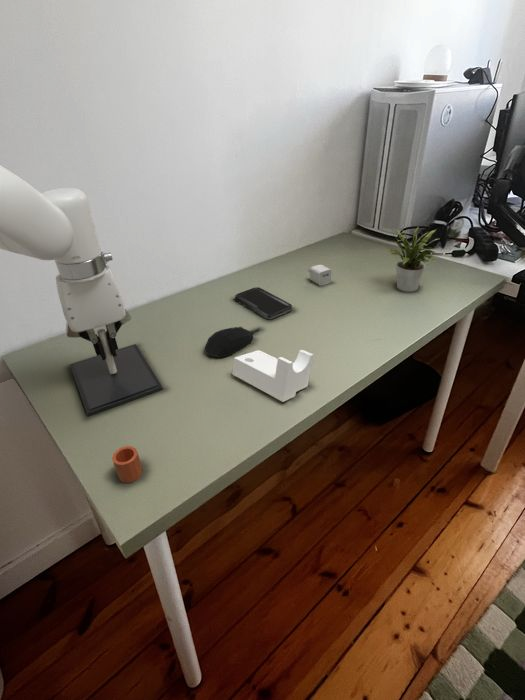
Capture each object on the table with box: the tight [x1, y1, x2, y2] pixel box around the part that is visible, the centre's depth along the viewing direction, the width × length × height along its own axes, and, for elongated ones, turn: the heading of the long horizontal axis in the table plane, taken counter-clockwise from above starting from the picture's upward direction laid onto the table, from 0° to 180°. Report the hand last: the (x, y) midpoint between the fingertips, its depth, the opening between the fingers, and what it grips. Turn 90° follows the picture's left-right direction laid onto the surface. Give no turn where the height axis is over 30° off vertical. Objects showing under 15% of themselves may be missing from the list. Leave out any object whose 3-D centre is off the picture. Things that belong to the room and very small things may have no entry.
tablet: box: [69, 343, 164, 417], centre depth 86 cm, size 14×18×1 cm
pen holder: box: [111, 445, 143, 484], centre depth 65 cm, size 4×4×4 cm
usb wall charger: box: [307, 263, 333, 287], centre depth 119 cm, size 4×7×4 cm, turn 29°
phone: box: [234, 286, 293, 320], centre depth 109 cm, size 8×1×15 cm
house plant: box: [384, 225, 439, 293], centre depth 109 cm, size 14×14×16 cm
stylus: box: [96, 328, 117, 374], centre depth 84 cm, size 1×1×10 cm
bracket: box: [231, 349, 314, 403], centre depth 82 cm, size 13×7×8 cm, turn 47°
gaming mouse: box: [204, 326, 260, 358], centre depth 94 cm, size 6×15×4 cm, turn 134°
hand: (108, 354), depth 84 cm, fingers closed on stylus, 1 cm apart
